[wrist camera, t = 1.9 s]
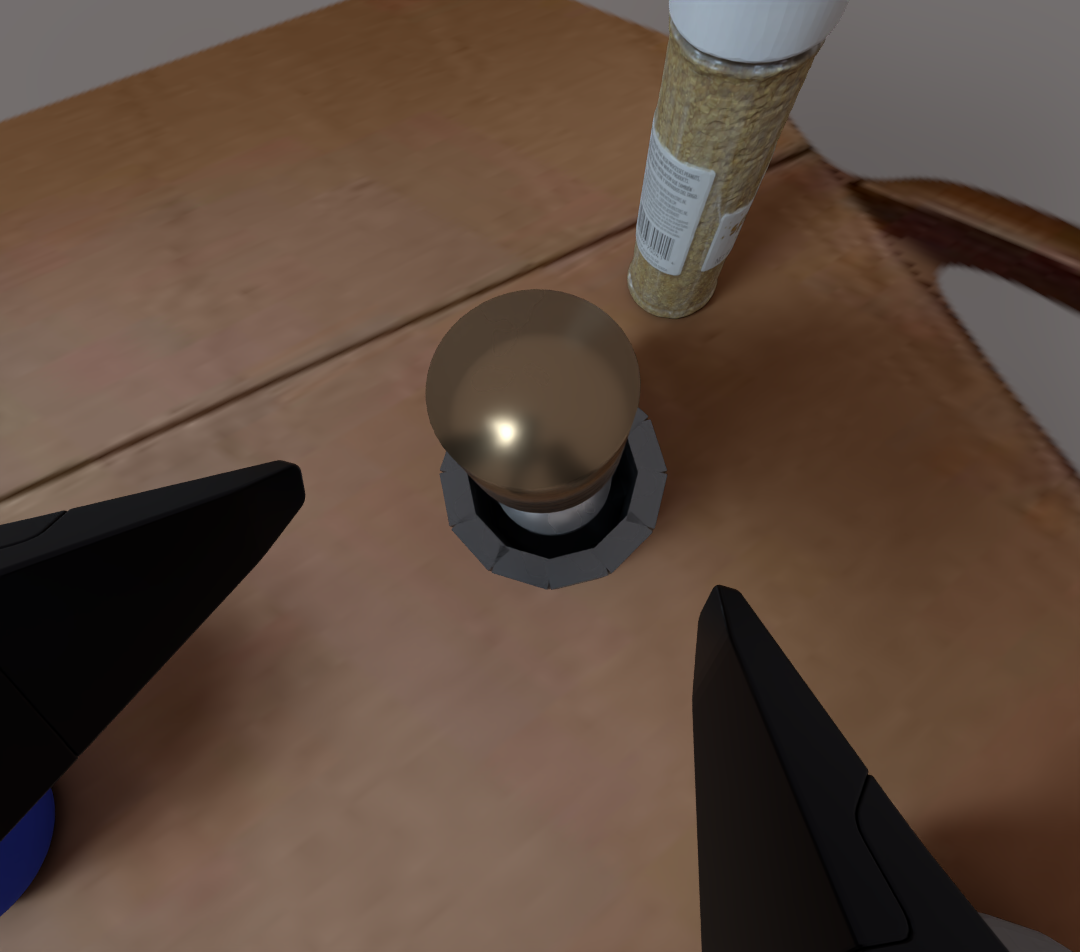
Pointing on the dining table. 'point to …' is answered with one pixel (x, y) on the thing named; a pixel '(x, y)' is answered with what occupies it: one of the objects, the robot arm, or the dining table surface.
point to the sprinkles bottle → (716, 136)
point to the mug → (25, 850)
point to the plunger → (536, 404)
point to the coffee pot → (1021, 937)
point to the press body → (569, 554)
